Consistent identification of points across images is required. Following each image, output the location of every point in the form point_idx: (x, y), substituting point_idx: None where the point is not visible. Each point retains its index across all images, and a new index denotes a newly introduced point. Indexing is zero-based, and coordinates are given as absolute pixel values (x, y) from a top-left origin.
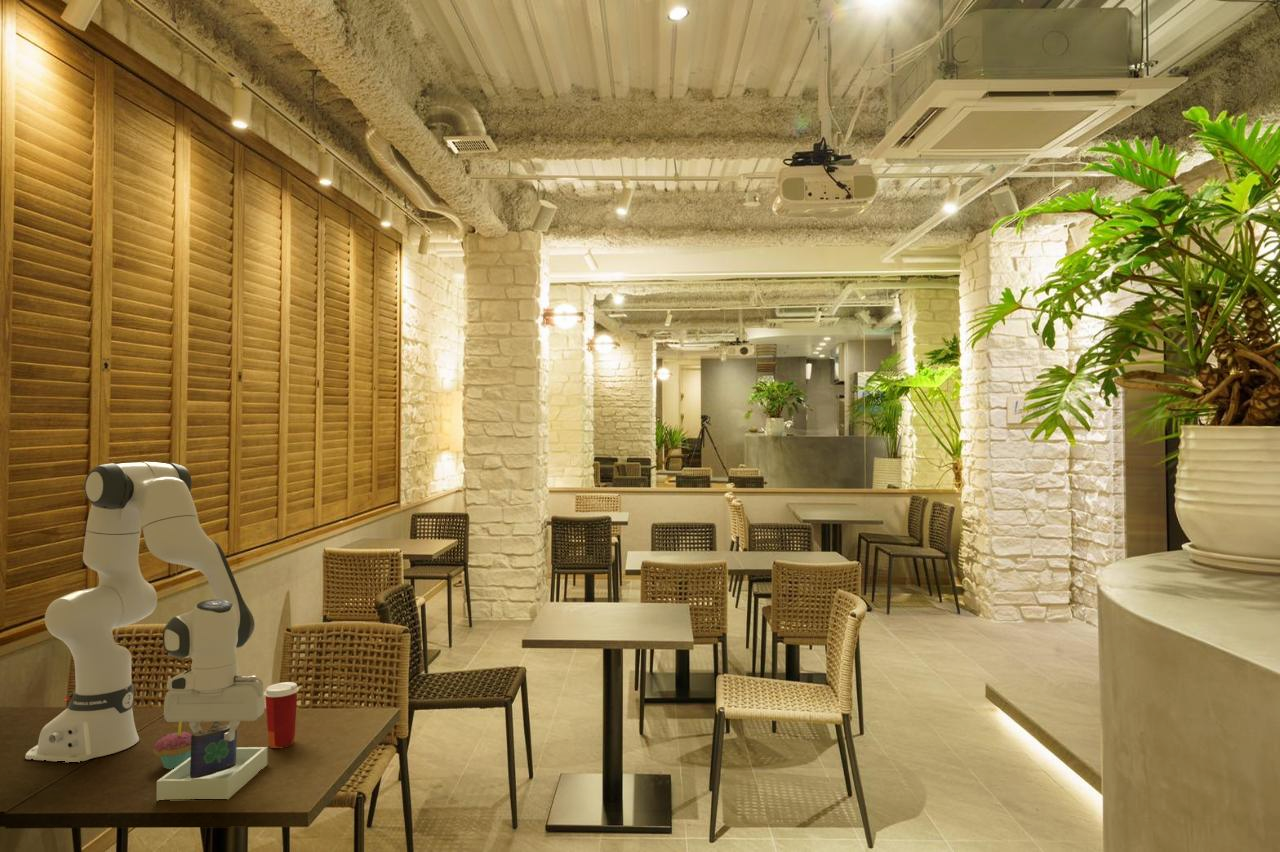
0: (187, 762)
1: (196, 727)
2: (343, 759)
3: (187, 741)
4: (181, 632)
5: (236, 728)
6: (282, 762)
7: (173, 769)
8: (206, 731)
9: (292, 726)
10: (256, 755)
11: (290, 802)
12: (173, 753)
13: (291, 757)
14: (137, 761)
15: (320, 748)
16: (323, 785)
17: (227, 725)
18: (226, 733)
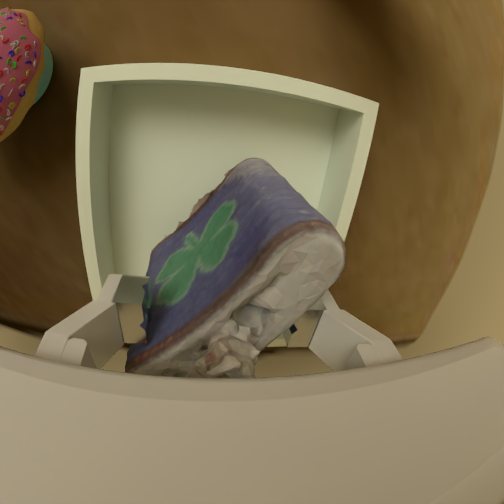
0: (92, 209)
1: (94, 354)
2: (488, 139)
3: (10, 87)
4: None
5: (353, 317)
6: (384, 97)
7: (89, 274)
8: (179, 361)
9: None
10: (358, 184)
11: (404, 317)
12: (5, 137)
13: (398, 67)
14: None
15: (447, 40)
16: (453, 260)
17: (279, 266)
18: (301, 345)
